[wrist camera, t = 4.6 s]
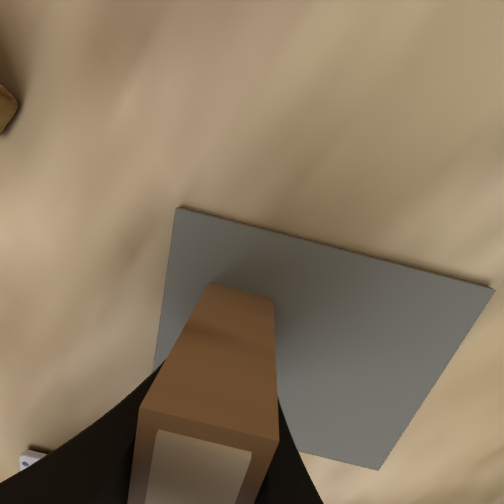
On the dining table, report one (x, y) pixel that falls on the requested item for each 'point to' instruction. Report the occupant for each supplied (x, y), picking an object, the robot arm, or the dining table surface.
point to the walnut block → (211, 407)
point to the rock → (6, 107)
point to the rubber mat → (328, 328)
